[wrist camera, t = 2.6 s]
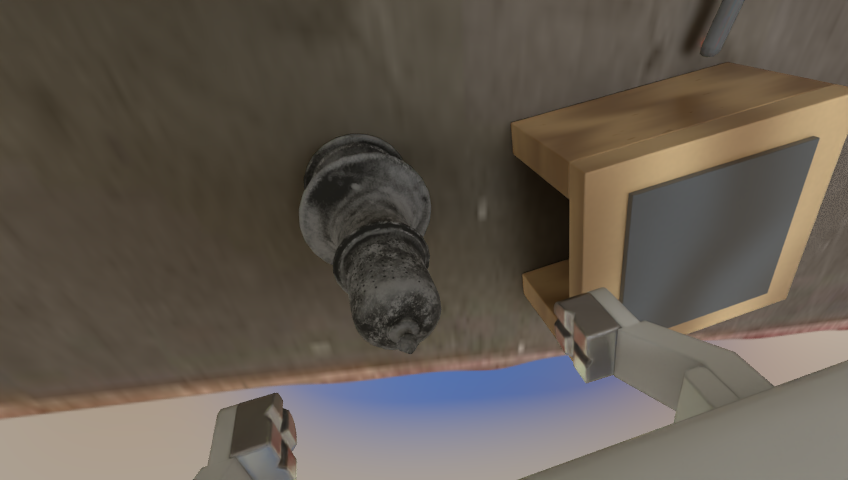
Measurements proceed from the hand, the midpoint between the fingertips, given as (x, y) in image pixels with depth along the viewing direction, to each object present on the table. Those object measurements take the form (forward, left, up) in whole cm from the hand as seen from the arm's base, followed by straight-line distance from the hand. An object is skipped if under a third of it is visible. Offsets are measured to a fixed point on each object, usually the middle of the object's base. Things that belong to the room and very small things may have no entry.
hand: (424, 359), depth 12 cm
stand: (+15, -5, -12) cm, 20 cm away
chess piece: (0, 0, -12) cm, 12 cm away
